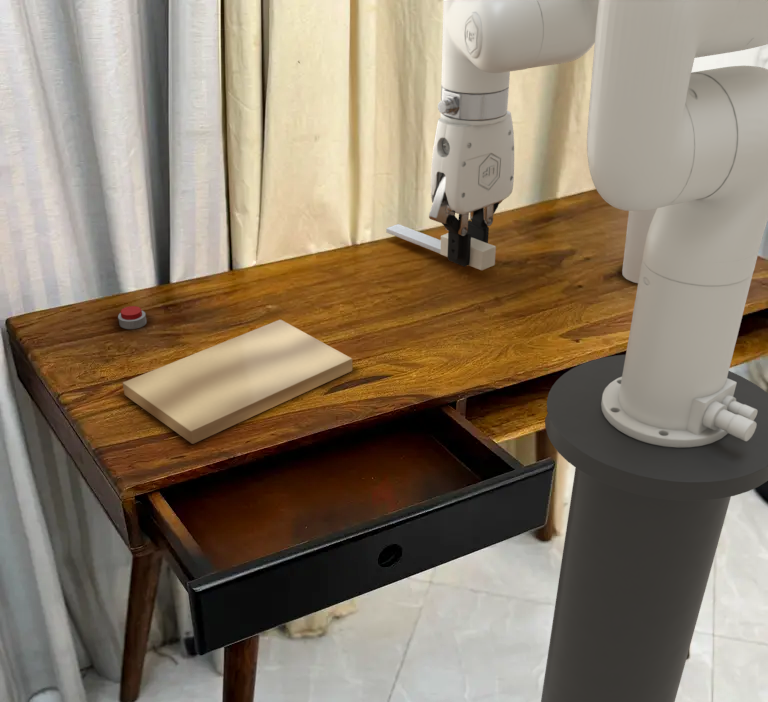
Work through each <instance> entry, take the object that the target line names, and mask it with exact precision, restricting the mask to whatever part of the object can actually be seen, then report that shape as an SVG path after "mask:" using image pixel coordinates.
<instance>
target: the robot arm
mask: <svg viewBox="0 0 768 702" xmlns="http://www.w3.org/2000/svg"><path fill="white" fill-rule="evenodd" d="M441 38H442V40H441V44H442V45H441V76H440V78H441V79H440V80H441V81H440V101H439V102H437V103H438V104H437V110H438V112H439V115H440V118H438V119H437V123H436V128H435V135H434V141H433V148H432V156H431V169H430V198H431V203H432V204H431V208H430V211H429V213H428V219H429V220H431V221H434V222H437V223H440V224H441V225H443V227H444V230H446V231H447V233H448V257H447V260H448V261H449V262H450V263H451V262H452V263H454V264H456V265H459V266H462V267H465V268H466V267H467V266H469V263H470V246H471V237H472V238H475V239H477V240H480V241H483V242H485V243H488V244H489V231H490V227H491V226H492V225H493V223H494V215H495V213H496V211H497V210H498V207H499V205H500V204H501V203H502V202H503V201H505V200H506V199H507V198H509V196H511V194H512V193H513V189H514V181H515V180H514V179H515V134H514V123H513V119H512V118H513V117H512V113H511V111H509V110H508V107H509V106H508V105H509V93H510V76H511V72H516V71H517V72H518V71H523V70H527V69H534V68H541V67H547V66H552V65H561V64H567V63H571V62H574V61H576V60H579V59H580V58H582V57H583V56H584V55H586V54H587V53H588V52H589V51H590V50H591V48H593V59H592V69H591V70H592V71H591V80H590V81H591V82H590V93H589V104H588V105H589V106H588V116H587V117H588V118H587V130H586V131H587V133H586V151H587V152H586V155H587V156H586V157H587V163H588V164H587V165H588V170H589V175H590V178H591V180H592V183H593V186H594V188H595V190H596V192H597V194H598V195H599V196H600V197H601V198H602V199H603V201H605V203H607V204H609V206H611V207H613V208H615V209H618V210H621V211H624V212H625V211H626V212H629V211H644V210H651V209H656V208H657V210H656V212H655V214H654V217H653V219H652V222H651V224H650V227H649V230H648V233H647V237H646V242H645V247H644V252H643V258H642V264H641V270H640V275H639V281H638V283H637V288H636V294H635V299H634V305H633V310H632V318H631V322H630V328H629V335H628V340H627V346H626V352H625V355H626V357H625V363H624V369H623V374H622V377H620V378H617V379H616V380H614V381H613V382H611V383H610V384H609V385H608V386H607V387H606V388H605V390H604V392H603V395H602V401H601V408H602V412H603V414H604V416H605V418H606V419H607V420H608V421H609V423H610V424H611V425H613V426H614V427H615V428H616V429H618V430H619V431H621V432H622V433H624V434H626V435H627V436H630V437H632V438H634V439H637V440H639V441H642V442H646V443H649V444H653V445H658V446H664V447H674V448H690V447H697V446H703V445H707V444H710V443H713V442H715V441H717V440H719V439H721V438H723V437H724V436H725V435H727V434H728V433H729V434H731V435H733V436H735V437H737V438H740V439H742V440H744V441H748V440H749V439H750V438H751V437H752V435H753V434H754V432H755V429H756V425H757V424H756V422H754V419H755V418H756V416H757V412H758V411H757V409H754V408H752V407H750V406H747V405H745V404H744V405H743V404H741V403H739V402H737V401H736V398H735V397H733V395H734V391H735V387H736V384H737V382H735V381H733V380H730V379H728V378H727V376H728V372H729V371H730V367H731V365H732V359H733V355H734V351H735V347H736V343H737V339H738V336H739V331H740V328H741V323H742V319H743V315H744V312H745V307H746V304H747V303H746V302H747V299H748V296H749V290H750V288H751V287H750V286H751V283H752V278H753V274H754V271H755V268H756V264H757V261H758V260H757V259H758V257H759V252H760V248H761V245H762V241H763V237H764V233H765V230H766V227H767V225H768V224H767V223H768V68H766V67H761V66H755V65H733V66H725V67H718V68H717V67H716V68H712V69H705V70H699V71H698V70H697V71H693V67H694V62H695V59H696V58H703V57H709V56H715V55H722V54H723V55H724V54H730V53H735V52H741V51H746V50H750V49H754V48H755V49H756V48H759V47H762V46H766V45H768V0H442V36H441ZM593 46H594V47H593ZM456 214H458V218H457V217H456Z"/></svg>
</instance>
